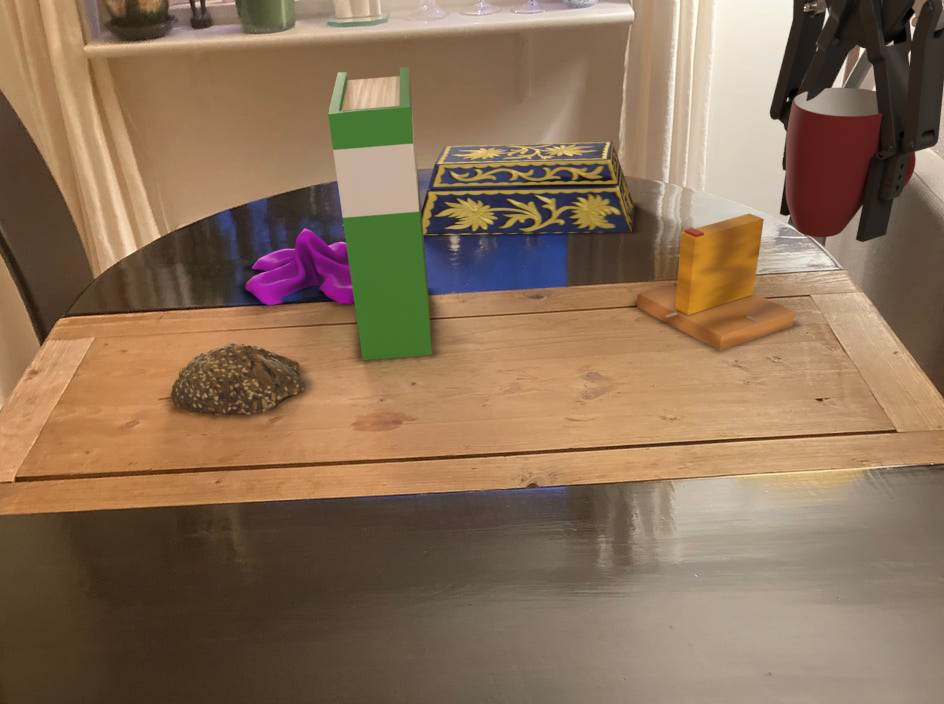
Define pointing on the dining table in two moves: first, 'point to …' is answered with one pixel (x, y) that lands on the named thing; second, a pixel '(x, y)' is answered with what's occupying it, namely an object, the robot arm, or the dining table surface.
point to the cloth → (304, 271)
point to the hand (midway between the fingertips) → (830, 223)
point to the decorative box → (527, 190)
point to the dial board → (719, 317)
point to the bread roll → (236, 381)
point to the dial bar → (718, 263)
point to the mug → (831, 158)
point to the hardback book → (382, 213)
